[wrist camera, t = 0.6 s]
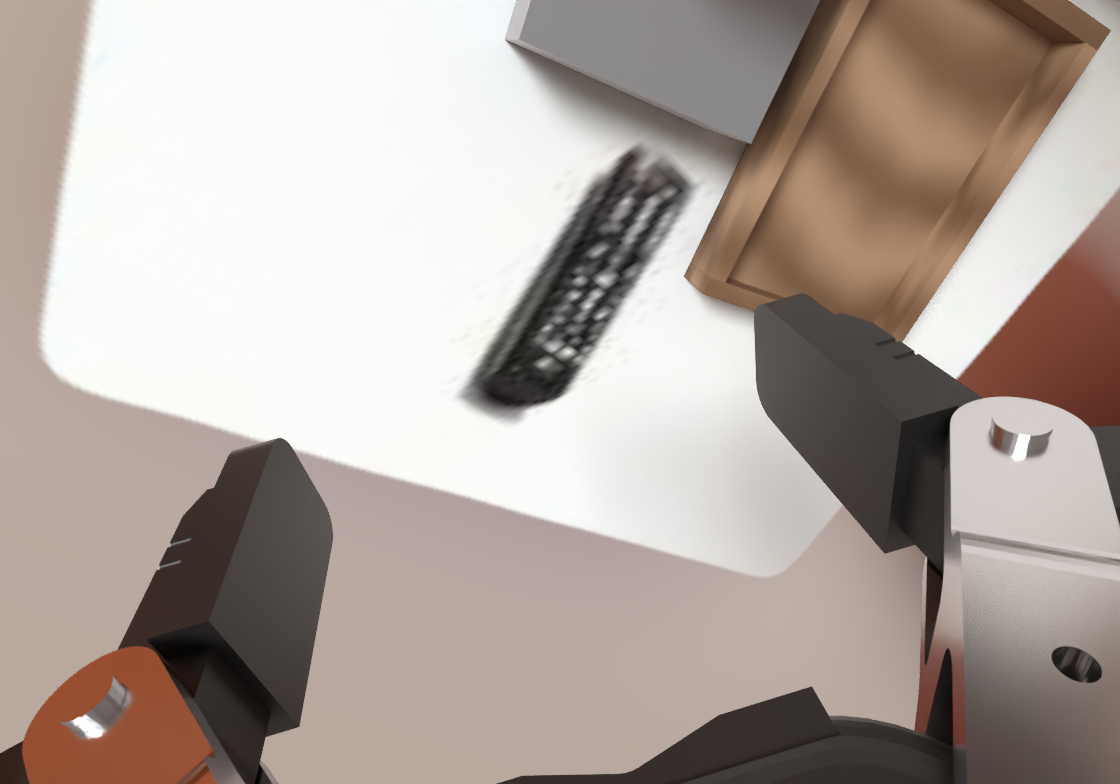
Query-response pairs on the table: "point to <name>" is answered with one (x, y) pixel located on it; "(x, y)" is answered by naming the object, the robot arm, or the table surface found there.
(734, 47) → the dispenser
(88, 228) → the table surface
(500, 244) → the table surface
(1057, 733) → the robot arm
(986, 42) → the tray
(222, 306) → the table surface
